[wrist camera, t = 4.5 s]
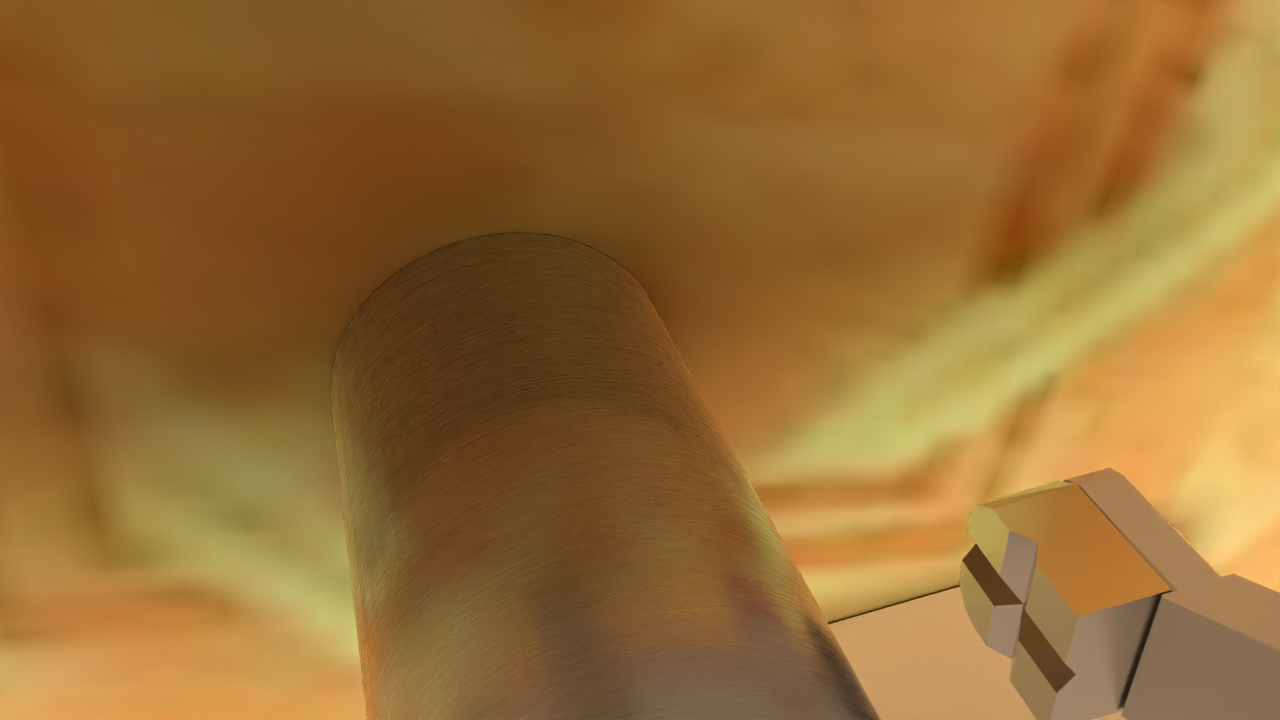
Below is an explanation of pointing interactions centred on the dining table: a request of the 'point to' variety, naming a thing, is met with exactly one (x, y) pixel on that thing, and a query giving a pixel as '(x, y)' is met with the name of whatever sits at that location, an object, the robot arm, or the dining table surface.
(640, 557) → the steel peg
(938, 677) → the housing
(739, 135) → the dining table surface
